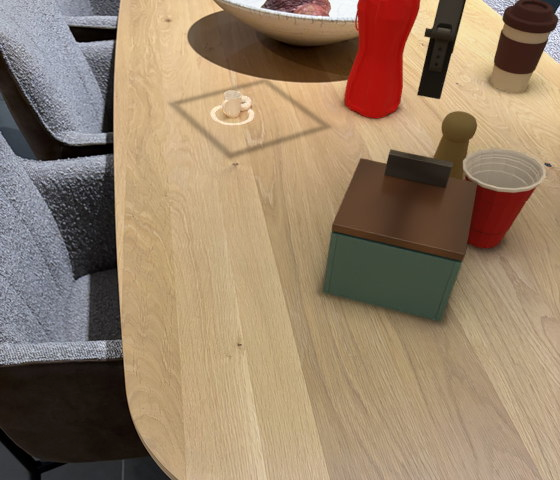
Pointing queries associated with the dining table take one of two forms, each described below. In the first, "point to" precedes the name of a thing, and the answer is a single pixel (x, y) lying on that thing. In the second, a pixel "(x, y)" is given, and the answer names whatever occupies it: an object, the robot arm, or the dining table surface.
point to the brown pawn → (456, 140)
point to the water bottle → (380, 56)
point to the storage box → (389, 276)
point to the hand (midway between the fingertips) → (435, 72)
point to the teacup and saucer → (234, 107)
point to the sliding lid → (409, 205)
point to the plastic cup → (499, 191)
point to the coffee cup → (521, 43)
